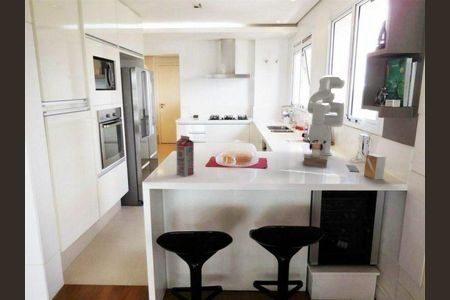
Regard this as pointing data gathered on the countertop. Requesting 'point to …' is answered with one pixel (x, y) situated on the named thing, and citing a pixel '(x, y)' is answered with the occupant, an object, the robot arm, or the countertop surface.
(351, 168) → the mat
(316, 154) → the plug
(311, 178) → the countertop surface
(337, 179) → the countertop surface
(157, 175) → the countertop surface
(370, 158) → the small box
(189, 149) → the juice carton
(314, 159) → the socket block
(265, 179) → the countertop surface
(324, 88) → the robot arm
